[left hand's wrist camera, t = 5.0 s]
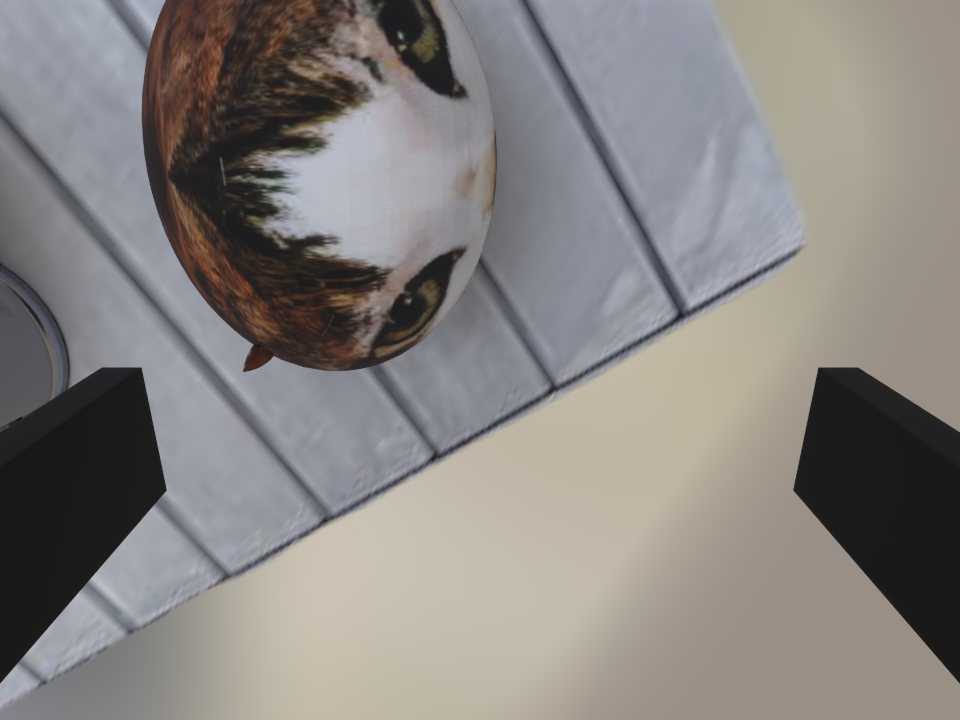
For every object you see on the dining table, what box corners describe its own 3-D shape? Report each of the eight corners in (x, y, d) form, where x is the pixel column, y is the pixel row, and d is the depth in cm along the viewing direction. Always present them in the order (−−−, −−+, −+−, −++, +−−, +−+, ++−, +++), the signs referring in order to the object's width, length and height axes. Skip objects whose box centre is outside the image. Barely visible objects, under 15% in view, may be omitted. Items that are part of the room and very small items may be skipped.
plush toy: (575, 347, 40) (316, 476, 25) (386, 293, 50) (126, 362, 36) (610, -67, 31) (251, -224, 17) (373, -28, 42) (28, -105, 27)
